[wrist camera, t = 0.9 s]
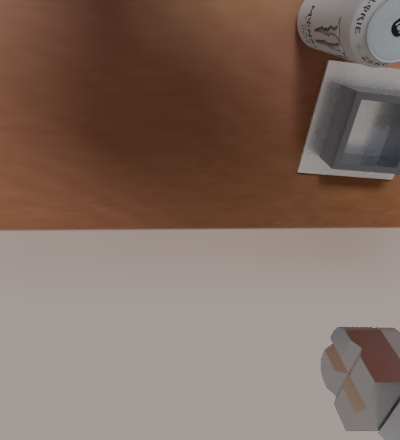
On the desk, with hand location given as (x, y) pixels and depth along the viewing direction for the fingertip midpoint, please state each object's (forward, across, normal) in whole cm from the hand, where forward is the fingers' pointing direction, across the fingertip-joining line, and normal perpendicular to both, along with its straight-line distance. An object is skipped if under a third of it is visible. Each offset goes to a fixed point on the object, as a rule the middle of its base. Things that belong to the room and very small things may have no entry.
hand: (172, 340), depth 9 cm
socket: (+39, -27, +4) cm, 47 cm away
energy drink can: (+39, -17, -7) cm, 43 cm away
